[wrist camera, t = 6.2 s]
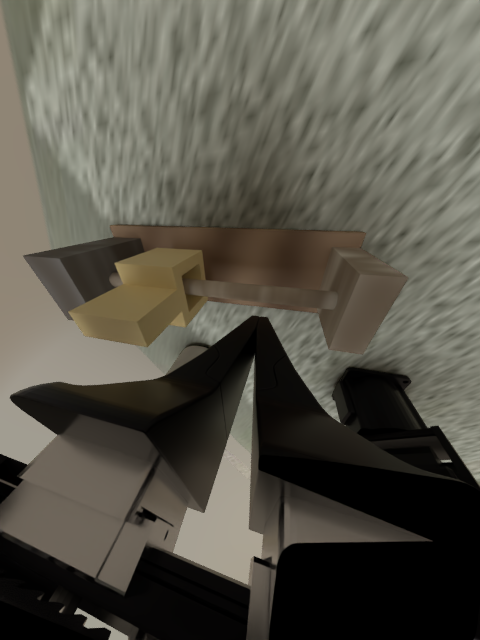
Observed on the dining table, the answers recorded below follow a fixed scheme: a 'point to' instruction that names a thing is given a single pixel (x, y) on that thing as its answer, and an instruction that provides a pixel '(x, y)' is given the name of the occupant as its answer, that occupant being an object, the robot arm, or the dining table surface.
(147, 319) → the marker sleeve
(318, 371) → the dining table surface
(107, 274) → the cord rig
